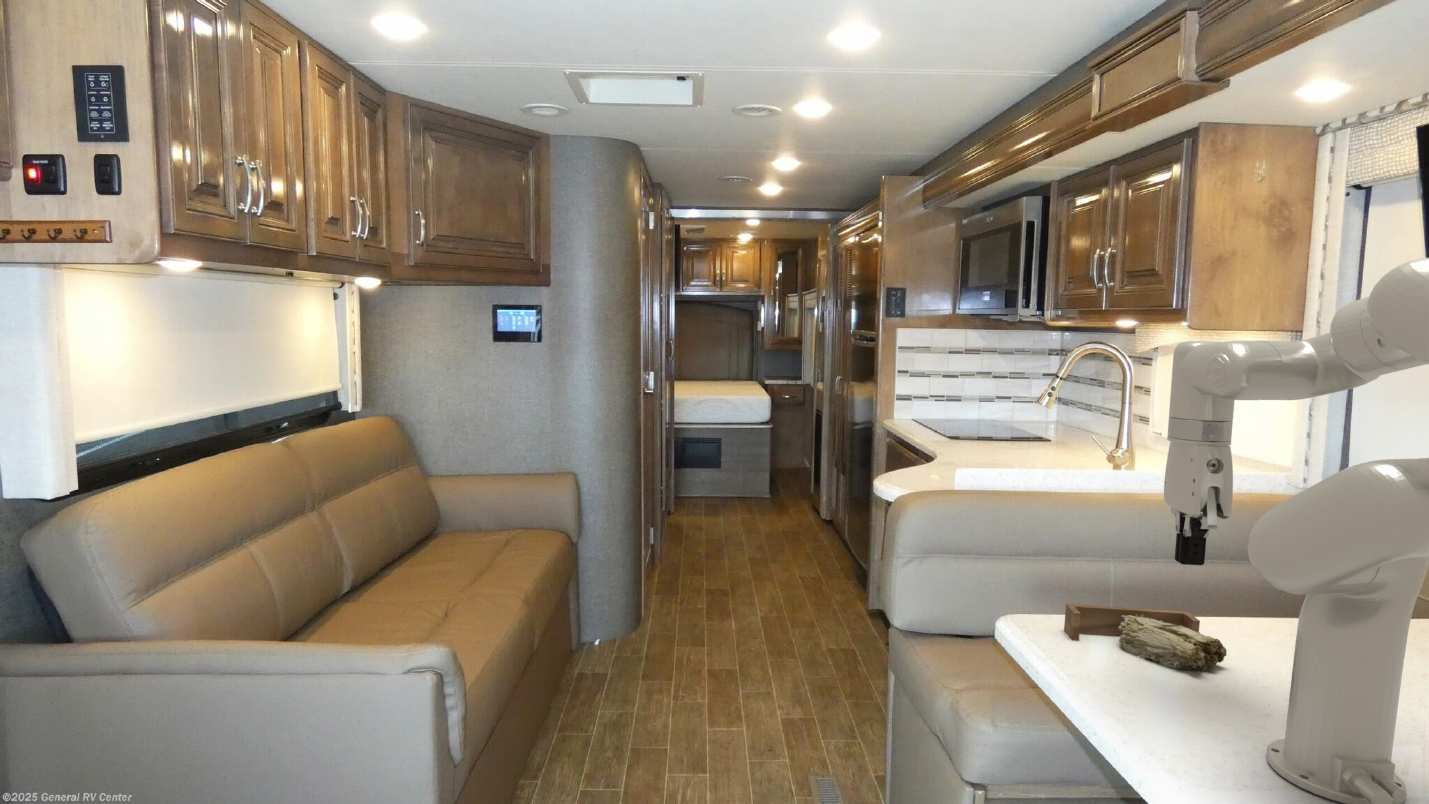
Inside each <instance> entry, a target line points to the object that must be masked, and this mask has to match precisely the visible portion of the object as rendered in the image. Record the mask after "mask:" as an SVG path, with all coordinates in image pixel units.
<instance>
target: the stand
mask: <svg viewBox="0 0 1429 804" xmlns="http://www.w3.org/2000/svg"><path fill="white" fill-rule="evenodd" d="M1141 614H1143V615H1144V616H1141ZM1122 615H1123V616H1128V615H1131V616H1135V617H1144V618H1149V619H1151V618H1152V619H1155V620H1157V621H1163V622H1164V623H1169V624H1173V625H1177V626H1183V627H1186V628H1189V629H1191V630H1193V631H1195V632H1197V633H1198V632H1200V625H1201V623H1200V619H1199V618H1197V617H1195V616H1194V615H1193V614H1192V613H1191V612H1189V611H1185V610H1167V609H1153V608H1152V609H1151V608H1137V607H1136V608H1135V607H1121V606H1120V607H1119V606H1118V607H1117V606H1101V605H1087V604H1086V605H1084V604H1074V603H1073V604H1072V603H1066V604H1065V613H1064V626H1063V631H1064V632H1065V633H1066V635H1067V636H1068V637H1069V638H1070V640H1071V641H1079V640H1080V635H1094V636H1095V635H1097V636H1112V637H1120V636H1122V632H1121V631H1120V630H1119V626H1121V625H1120V623H1121V622H1123V621H1124V618H1122ZM1136 615H1137V616H1136Z"/></svg>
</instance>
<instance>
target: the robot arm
mask: <svg viewBox="0 0 1429 804" xmlns="http://www.w3.org/2000/svg"><path fill="white" fill-rule="evenodd" d="M1425 365H1429V257H1424V258H1418V259H1414V260H1410V261H1407V262H1405V263H1402V264H1399V265H1398V266H1396V267H1394V268H1393V269H1391V270H1388V272H1386V274H1385V275H1383V276H1381V278H1380V279H1379V280H1378V281H1377V282H1376V283H1375V285H1374V286H1373V287H1372V290H1371V292H1370V294H1369V296H1366V297H1364V298H1359V299H1356V300H1354V301H1351V302H1348V303H1346V304H1344V305H1343V306H1342V307H1340V308H1339V309H1338V310H1337V311H1336V312H1335V314H1334V316H1333V318H1332V320H1331V323H1330V328H1329V332H1326V333H1324V334H1320V335H1316V336H1314V337H1310V338H1307V339H1303V340H1296V341H1285V340H1283V341H1282V340H1229V341H1228V340H1227V341H1208V340H1207V341H1205V340H1204V341H1203V340H1202V341H1201V340H1200V341H1199V340H1197V341H1195V340H1194V341H1183V342H1180V343H1178V344H1177V345H1176V346H1175V348H1174V350H1173V357H1172V369H1171V383H1170V384H1171V385H1170V398H1169V410H1168V421H1167V422H1168V423H1167V424H1168V425H1167V439H1166V440H1167V441H1168V442H1169V446H1168V452H1167V457H1166V458H1167V459H1166V464H1165V475H1164V480H1163V481H1164V483H1163V500H1164V502H1165V504H1167V505H1168V507H1170V512H1171V513H1172V514H1173V515H1174V518H1175V524H1174V525H1175V527H1174V528H1175V531H1176V535H1175V537H1176V538H1175V549H1174V550H1175V551H1174V560H1175V561H1176V562H1177V563H1178V564H1181V565H1185V566H1187V565H1188V566H1189V565H1190V566H1203V565H1204V564H1205V562H1206V561H1205V560H1206V547H1207V538H1208V537H1209V534H1210V530H1217V529H1218V518H1219V519H1221V520H1228V519H1229V518H1230V517H1232V511H1233V497H1234V496H1233V491H1234V470H1233V469H1234V468H1233V467H1234V466H1233V455H1232V447H1231V445H1232V433H1233V423H1234V422H1233V421H1234V412H1235V411H1234V410H1235V401H1297V400H1298V401H1299V400H1306V399H1311V398H1316V397H1320V396H1325V395H1330V394H1335V393H1338V392H1339V393H1340V392H1343V391H1348V390H1351V389H1354V388H1355V389H1356V388H1358V387H1361V386H1364V385H1367V384H1369V383H1370V382H1373V381H1375V380H1377V379H1378V378H1380V377H1381V376H1384V375H1388V374H1391V373H1395V372H1399V371H1404V370H1408V369H1413V368H1417V367H1421V366H1425ZM1247 554H1248V559H1249V562H1250V564H1251V567H1252V569H1253V570H1254V572H1256V574H1257V575H1258V576H1259V577H1260V578H1261V579H1262V580H1263V581H1264V582H1266V583H1267V584H1269V585H1270V586H1272V587H1273V588H1275V589H1277V590H1280V591H1283V592H1284V593H1289V594H1294V595H1303V596H1304V595H1305V598H1304V601H1303V603H1302V606H1301V607H1300V612H1299V615H1298V619H1297V620H1298V621H1297V627H1296V628H1297V629H1296V636H1295V643H1294V654H1293V662H1292V670H1291V681H1290V689H1289V698H1288V705H1287V706H1288V707H1287V714H1286V715H1287V717H1286V726H1285V732H1284V733H1285V734H1284V735H1285V736H1284V738H1280V739H1276V740H1274V741H1271V742H1270V743H1269V744H1268V745H1267V748H1266V754H1265V755H1266V760H1267V763H1268V764H1269V766H1271V768H1272V769H1273V770H1274V771H1275V772H1276V773H1278V775H1280V776H1281V777H1283V778H1284V779H1285V780H1288V782H1290V783H1291V784H1294V785H1296V786H1298V787H1300V788H1301V789H1303V790H1305V791H1307V792H1309V793H1312V794H1314V795H1317V796H1320V797H1323V798H1325V799H1328V800H1332V801H1334V802H1338V803H1341V804H1403V803H1404V801H1405V800H1406V798H1407V787H1406V784H1405V783H1404V781H1403V780H1402V779H1401V777H1399V776H1398V774H1396V773H1395V770H1396V764H1395V763H1394V762H1393V761H1392V756H1393V754H1392V753H1393V748H1394V741H1395V740H1394V738H1395V733H1396V731H1395V730H1396V725H1397V724H1396V723H1397V717H1398V709H1399V701H1400V695H1401V694H1400V693H1401V686H1402V679H1403V678H1402V677H1403V671H1404V663H1405V657H1406V652H1407V645H1408V644H1407V641H1408V636H1409V629H1410V624H1411V620H1412V615H1413V611H1414V608H1415V605H1416V601H1417V599H1418V596H1419V594H1420V591H1421V589H1422V587H1423V584H1424V581H1425V579H1426V576H1427V572H1428V569H1429V457H1425V458H1424V457H1421V458H1420V457H1419V458H1394V459H1393V458H1389V459H1388V458H1387V459H1377V460H1371V461H1366V462H1365V461H1364V462H1362V463H1358V464H1354V465H1351V466H1349V467H1347V468H1344V469H1342V470H1340V471H1338V472H1336V473H1334V474H1332V475H1330V476H1328V477H1326V478H1324V479H1321V481H1319V482H1317V483H1315V484H1313V485H1312V486H1310V487H1308V488H1306V489H1303V490H1302V491H1300V492H1298V493H1297V494H1295V495H1293V496H1291V497H1289V498H1288V499H1285V500H1284V501H1282V502H1279V503H1278V504H1276V505H1275V506H1273V507H1271V508H1270V509H1268V510H1267V511H1266V512H1264V513H1263V514H1262V515H1261V516H1260V517H1259V518H1258V519H1257V520H1256V521H1255V523H1254V525H1253V526H1252V528H1251V531H1250V532H1249V535H1248V541H1247Z"/></svg>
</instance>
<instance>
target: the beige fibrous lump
mask: <svg viewBox="0 0 1429 804" xmlns="http://www.w3.org/2000/svg"><path fill="white" fill-rule="evenodd" d="M1136 616H1137V615H1136ZM1141 616H1144V615H1143V614H1141ZM1122 618H1124V621H1123V622H1121V623H1120V625H1121V626H1119V630H1120V631H1121V632H1122V636H1119V641H1118V642H1119V643H1120V645H1121V647H1122V649H1123V650H1125V651H1126V652H1127V653H1130V654H1132V655H1133V654H1134V655H1133V656H1135V655H1136V657H1138V656H1139V658H1141V659H1144V658H1145V659H1147V658H1148V659H1151V660H1152V661H1154V662H1155V663H1156V664H1159V663H1160V664H1159V665H1162V666H1165V665H1167V666H1166V667H1168V666H1169V667H1168V668H1172V669H1174V668H1176V669H1175V670H1196V671H1206V670H1209V669H1212V668H1214V667H1215V666H1216V665H1218V663H1222V662H1224V659H1225V657H1227V649H1226V647H1225V646H1224V645H1223V643H1222V642H1221V641H1220V640H1219V639H1218V638H1214V637H1212V636H1210V635H1204V634H1202V633H1201V632H1200V631H1199V632H1198V633H1197V632H1195V631H1193V630H1191V629H1189V628H1186V627H1183V626H1177V625H1173V624H1169V623H1164V622H1163V621H1157V620H1155V619H1152V618H1151V619H1149V618H1144V617H1135V616H1131V615H1128V616H1123V615H1122Z"/></svg>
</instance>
